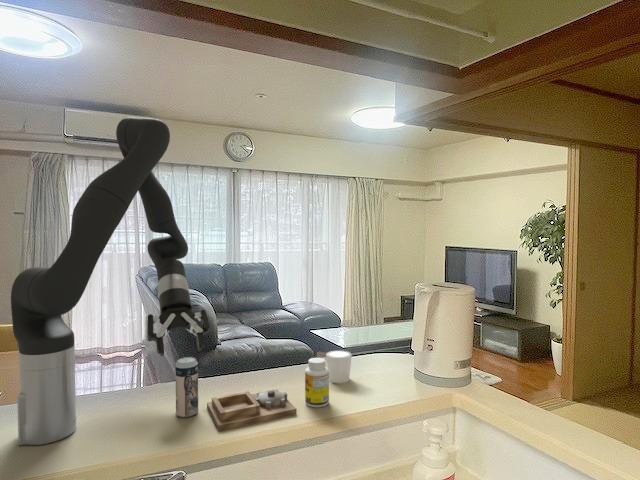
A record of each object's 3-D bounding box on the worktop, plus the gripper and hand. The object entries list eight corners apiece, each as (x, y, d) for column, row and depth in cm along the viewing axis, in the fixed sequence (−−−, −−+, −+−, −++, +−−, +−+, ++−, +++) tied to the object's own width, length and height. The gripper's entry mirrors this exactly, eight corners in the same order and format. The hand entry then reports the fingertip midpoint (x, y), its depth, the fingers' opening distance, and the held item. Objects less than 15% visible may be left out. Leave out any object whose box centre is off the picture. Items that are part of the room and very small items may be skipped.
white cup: (352, 384, 109) (352, 357, 109) (326, 384, 109) (326, 357, 109) (350, 374, 116) (350, 349, 116) (326, 374, 116) (326, 349, 116)
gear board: (219, 431, 84) (219, 414, 84) (207, 407, 95) (206, 393, 95) (296, 414, 92) (296, 398, 92) (277, 394, 102) (277, 380, 102)
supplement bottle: (305, 398, 100) (304, 356, 100) (328, 398, 100) (328, 356, 100) (305, 408, 94) (304, 364, 94) (329, 408, 95) (329, 363, 94)
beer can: (191, 419, 89) (191, 364, 89) (171, 417, 90) (170, 362, 90) (202, 409, 94) (201, 357, 93) (183, 408, 95) (182, 355, 94)
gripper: (145, 288, 102) (149, 347, 92) (204, 284, 108) (214, 339, 98) (143, 306, 107) (148, 364, 97) (200, 301, 113) (210, 355, 103)
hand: (181, 351), depth 98 cm, fingers open, 8 cm apart
